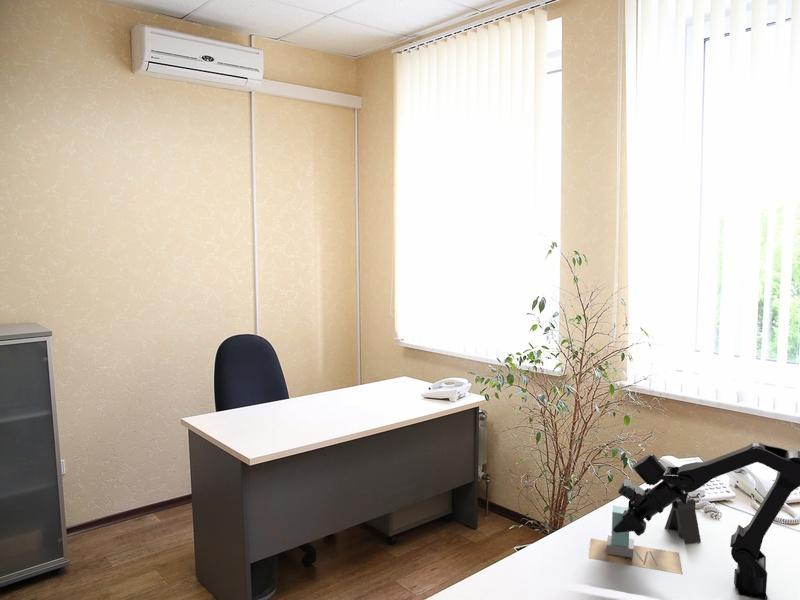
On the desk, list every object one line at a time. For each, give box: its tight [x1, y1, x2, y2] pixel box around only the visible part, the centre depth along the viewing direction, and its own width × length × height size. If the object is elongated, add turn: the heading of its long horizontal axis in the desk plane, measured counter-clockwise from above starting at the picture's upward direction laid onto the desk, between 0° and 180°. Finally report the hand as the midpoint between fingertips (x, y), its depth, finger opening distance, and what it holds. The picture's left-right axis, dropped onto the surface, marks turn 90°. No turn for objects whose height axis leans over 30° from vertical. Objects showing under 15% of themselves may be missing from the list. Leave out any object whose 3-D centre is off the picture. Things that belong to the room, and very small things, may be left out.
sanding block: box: [606, 505, 635, 558], centre depth 174 cm, size 7×6×12 cm
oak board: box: [588, 538, 684, 575], centre depth 173 cm, size 24×12×2 cm, turn 70°
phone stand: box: [664, 496, 702, 545], centre depth 187 cm, size 9×6×12 cm, turn 13°
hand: (615, 527), depth 174 cm, fingers closed on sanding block, 5 cm apart
